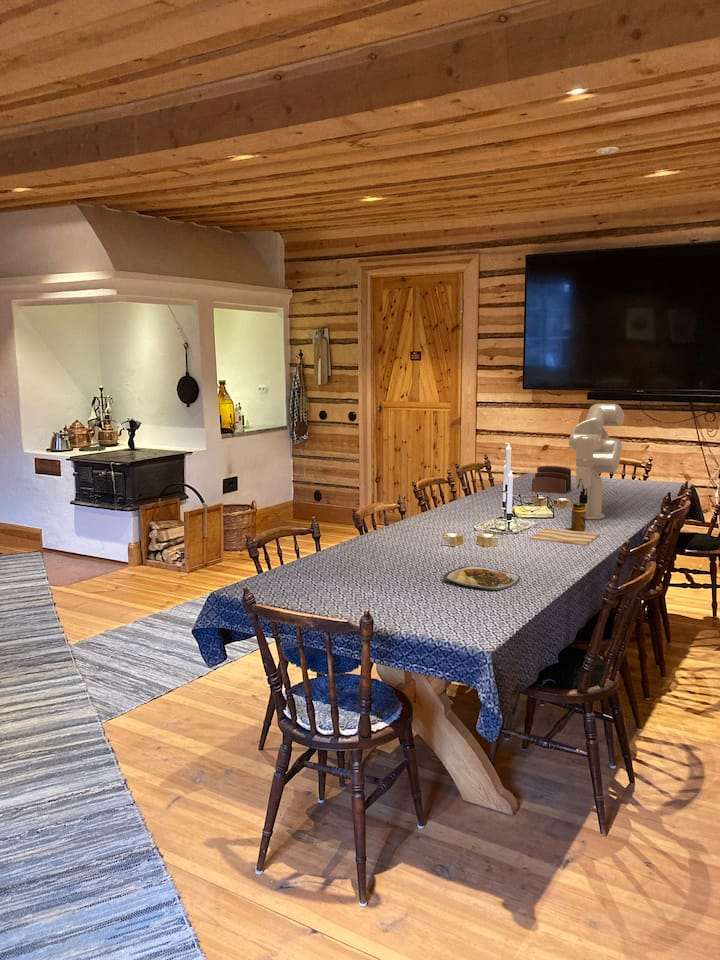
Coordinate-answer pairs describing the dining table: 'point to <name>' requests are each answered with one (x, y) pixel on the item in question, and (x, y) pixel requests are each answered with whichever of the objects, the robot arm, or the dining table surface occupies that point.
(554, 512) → the dining table surface
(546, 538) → the oak board
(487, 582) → the meal
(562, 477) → the letter holder
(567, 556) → the dining table surface
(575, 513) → the condiment
